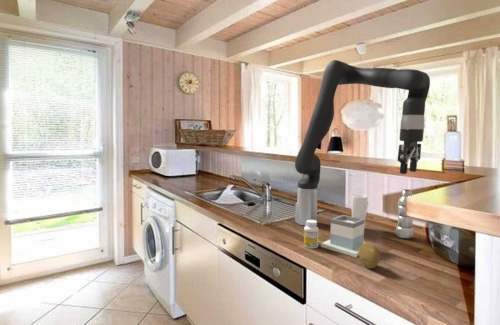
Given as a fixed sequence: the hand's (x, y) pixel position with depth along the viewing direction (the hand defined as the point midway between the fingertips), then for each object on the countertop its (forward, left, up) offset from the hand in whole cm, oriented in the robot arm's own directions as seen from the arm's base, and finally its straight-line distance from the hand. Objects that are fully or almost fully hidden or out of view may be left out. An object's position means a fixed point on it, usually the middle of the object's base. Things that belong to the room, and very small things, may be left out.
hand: (408, 172), depth 112 cm
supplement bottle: (-26, -22, -29) cm, 45 cm away
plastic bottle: (-4, +14, -29) cm, 32 cm away
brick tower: (-16, -13, -29) cm, 36 cm away
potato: (-3, -25, -29) cm, 38 cm away
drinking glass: (-23, +12, -29) cm, 39 cm away
